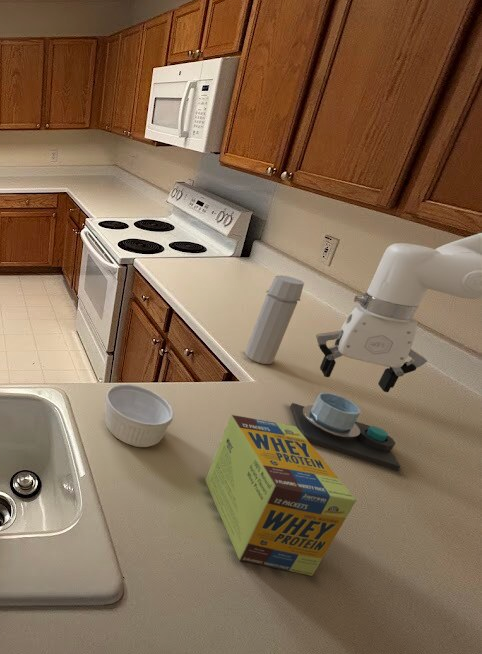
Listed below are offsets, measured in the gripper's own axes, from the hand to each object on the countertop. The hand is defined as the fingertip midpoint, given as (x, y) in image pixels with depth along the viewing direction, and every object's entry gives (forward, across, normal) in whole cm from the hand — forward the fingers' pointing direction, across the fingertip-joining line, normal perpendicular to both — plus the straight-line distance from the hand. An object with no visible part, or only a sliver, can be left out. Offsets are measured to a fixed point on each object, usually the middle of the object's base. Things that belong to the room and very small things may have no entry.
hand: (353, 381), depth 86 cm
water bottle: (+14, -10, +30) cm, 35 cm away
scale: (+14, +2, 0) cm, 14 cm away
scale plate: (+11, -1, 0) cm, 11 cm away
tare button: (+11, +7, 0) cm, 13 cm away
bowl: (+10, -1, 0) cm, 10 cm away
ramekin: (+13, -39, -23) cm, 47 cm away
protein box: (+14, -18, -36) cm, 43 cm away
